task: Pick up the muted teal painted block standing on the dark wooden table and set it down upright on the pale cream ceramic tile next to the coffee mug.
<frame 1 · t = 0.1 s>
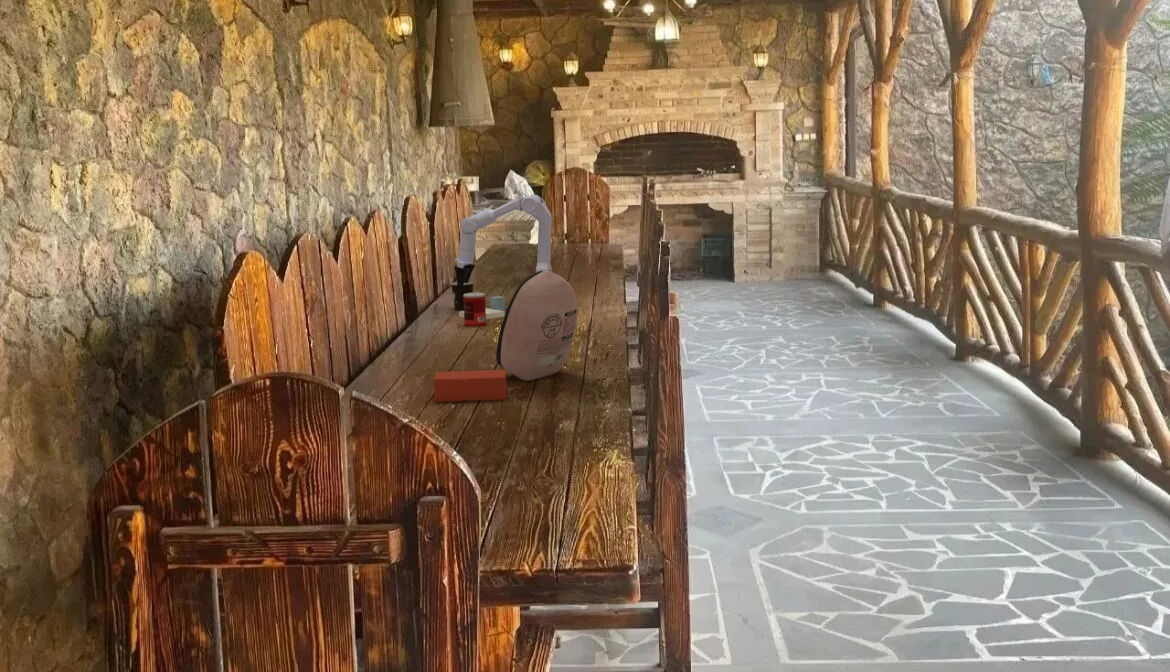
hand: (462, 284, 404), 11 cm above the table, tool pointing down, fingers open, 7 cm apart
packaged food: (539, 378, 293), on the table
brick: (471, 397, 274), on the table
base tile: (481, 316, 393), on the table
block: (497, 312, 401), on the table
coffee mug: (463, 308, 413), on the table
canned food: (475, 325, 377), on the table
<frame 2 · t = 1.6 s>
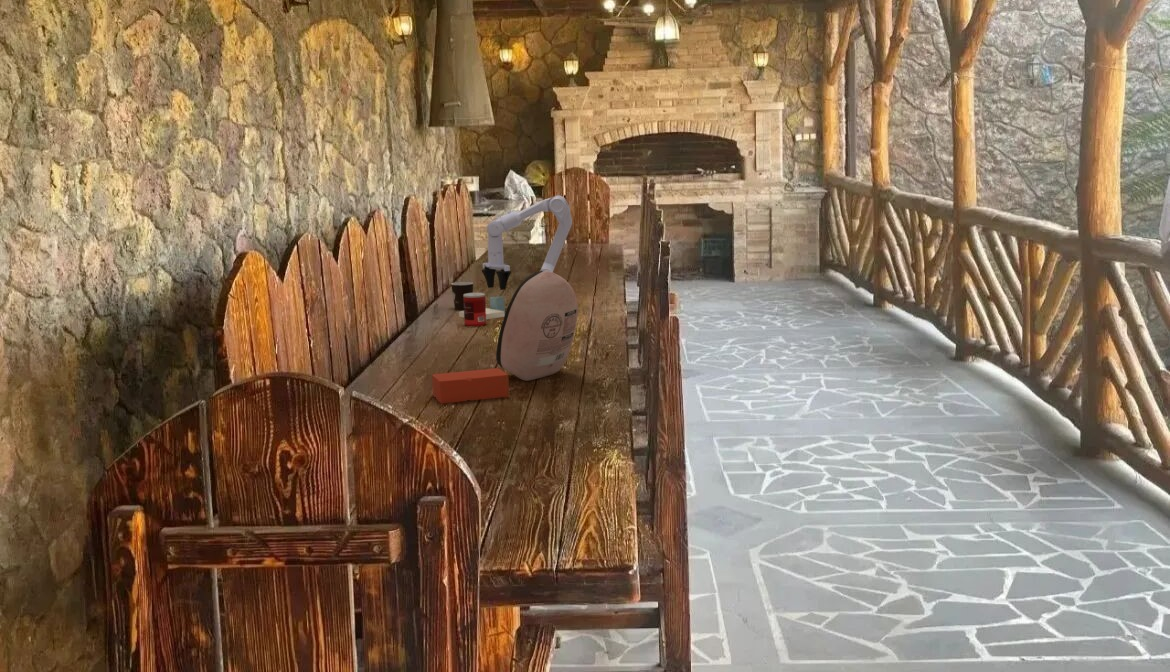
hand: (496, 288, 400), 9 cm above the table, tool pointing down, fingers open, 7 cm apart
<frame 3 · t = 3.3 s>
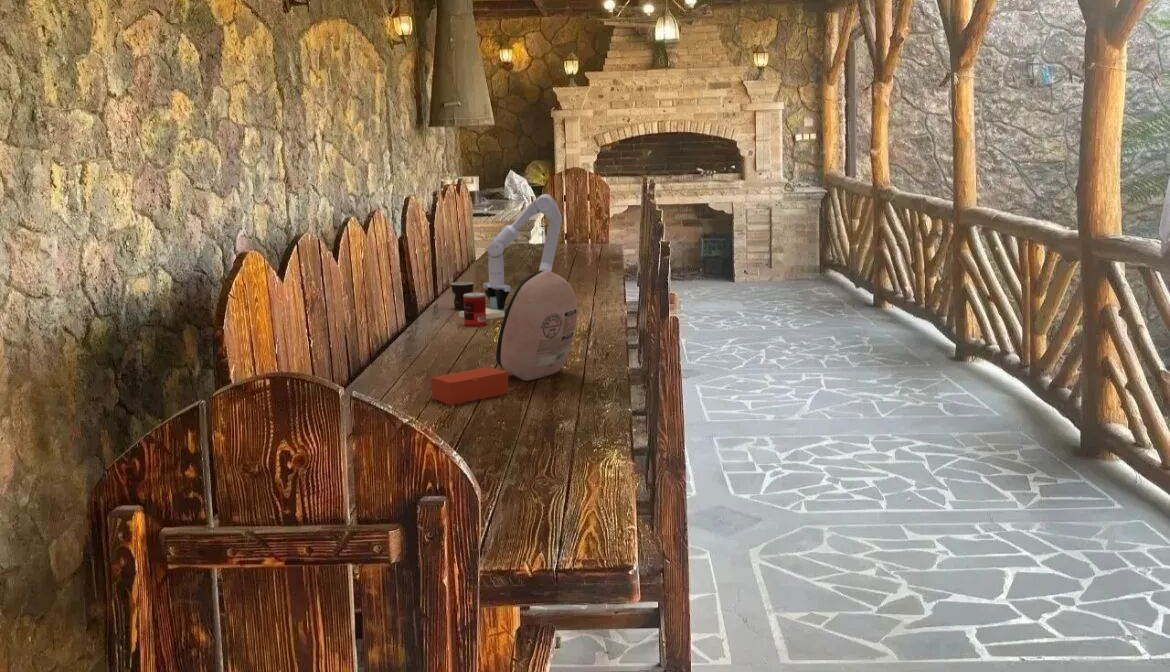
hand: (497, 308, 401), 2 cm above the table, tool pointing down, fingers closed on block, 4 cm apart
block: (497, 312, 401), on the table, touching gripper
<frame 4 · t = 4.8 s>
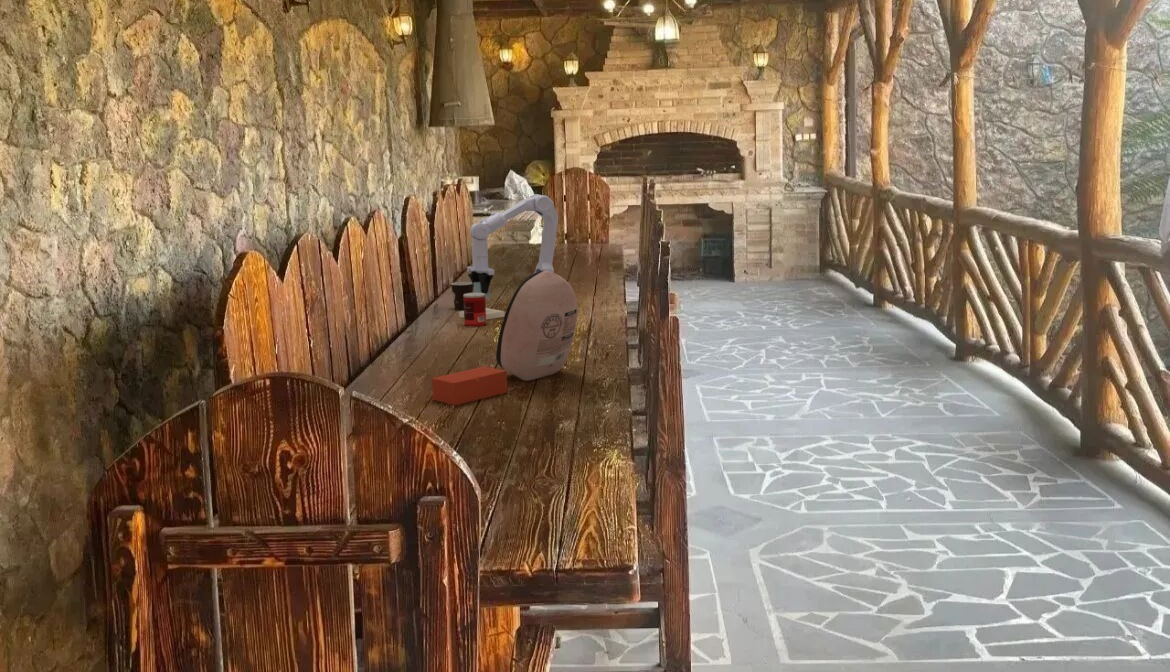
hand: (481, 292, 391), 9 cm above the table, tool pointing down, fingers closed on block, 4 cm apart
block: (481, 298, 392), point 7 cm above the table, touching gripper
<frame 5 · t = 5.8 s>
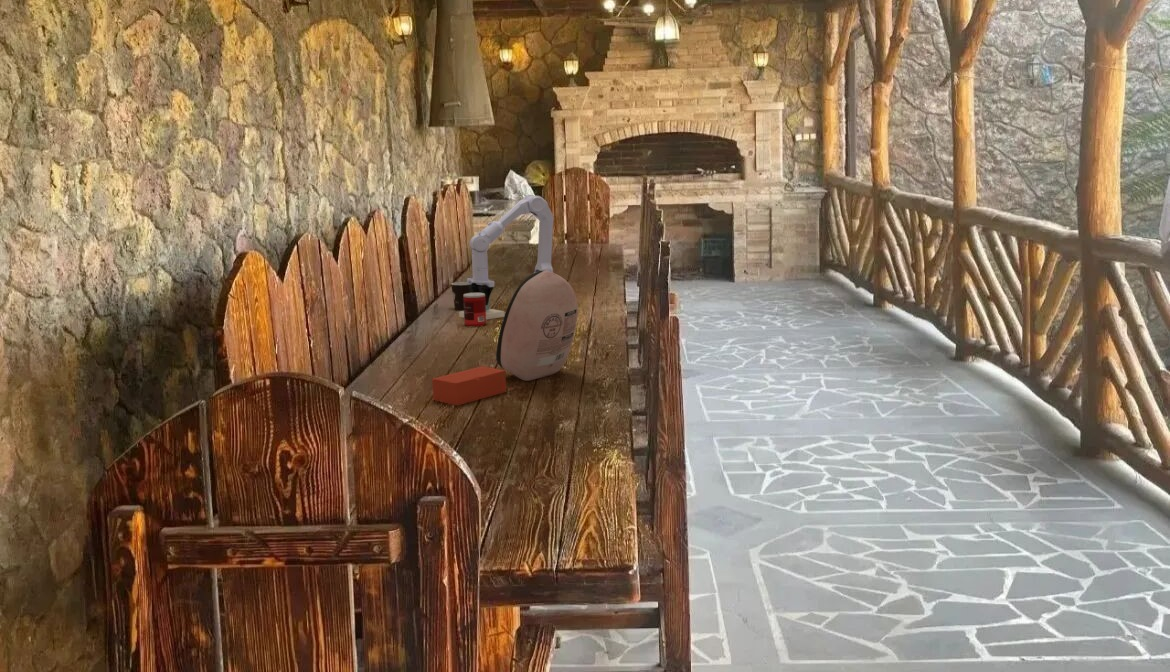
hand: (481, 304, 392), 5 cm above the table, tool pointing down, fingers closed on block, 4 cm apart
block: (481, 310, 393), point 2 cm above the table, touching gripper
when the fingers open (5 cm above the table, at t = 6.4 s): block stays where it is, resting on base tile.
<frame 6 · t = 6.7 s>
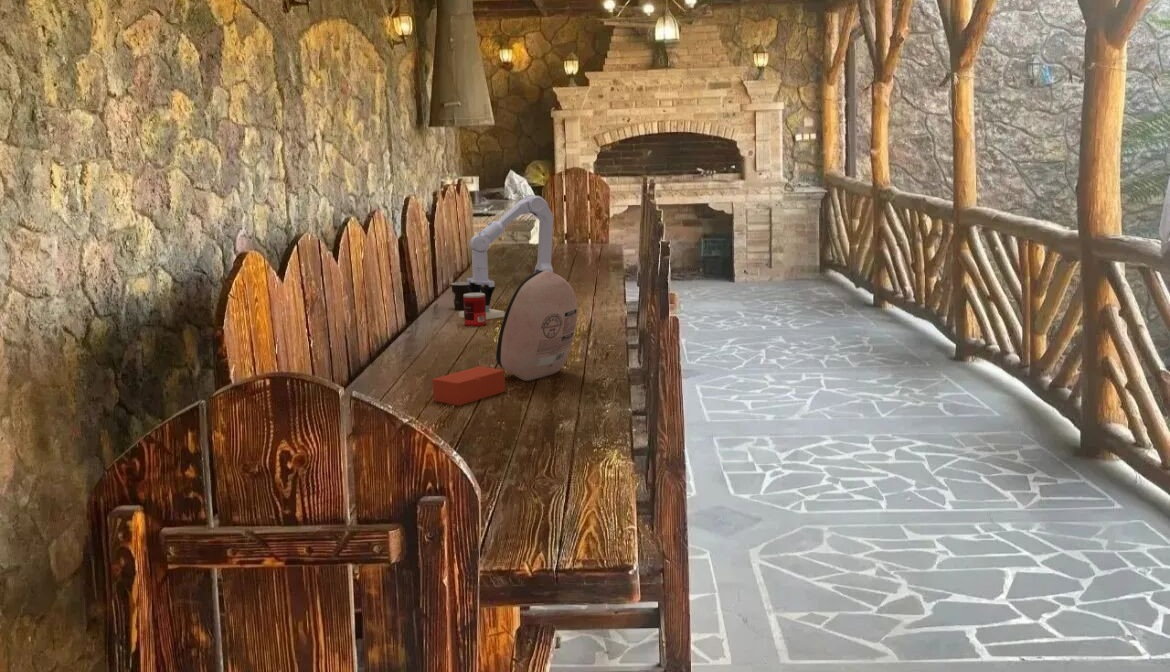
hand: (481, 304, 392), 5 cm above the table, tool pointing down, fingers open, 6 cm apart
block: (481, 311, 393), point 2 cm above the table, touching base tile
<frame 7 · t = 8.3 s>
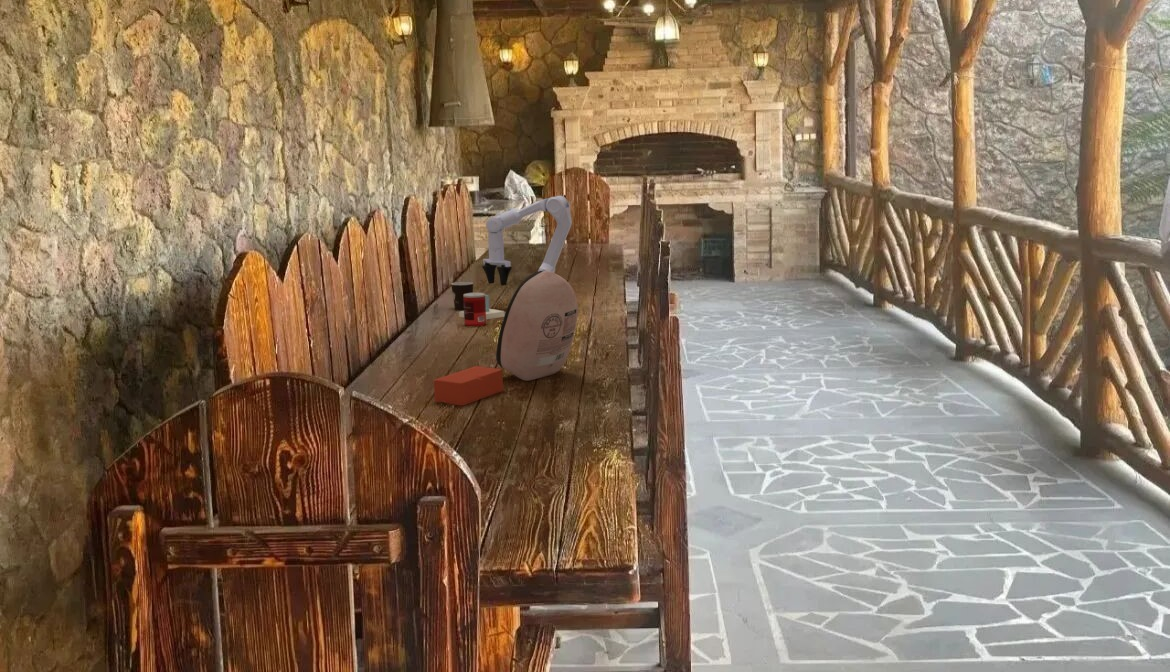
hand: (497, 284, 403), 10 cm above the table, tool pointing down, fingers open, 7 cm apart
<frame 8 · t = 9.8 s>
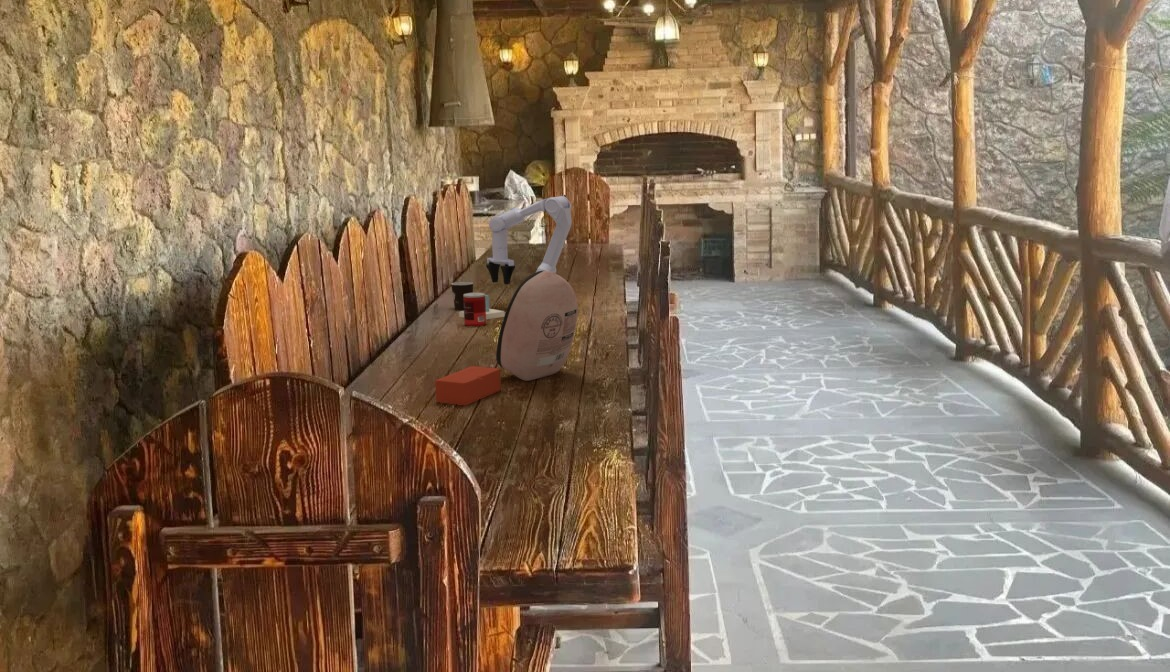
hand: (501, 283, 406), 10 cm above the table, tool pointing down, fingers open, 7 cm apart
at the end: block inside the target area on the base tile (0.1 cm from its centre), point 2.0 cm above the base tile's base; block tilted 0°; the gripper is holding nothing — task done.
